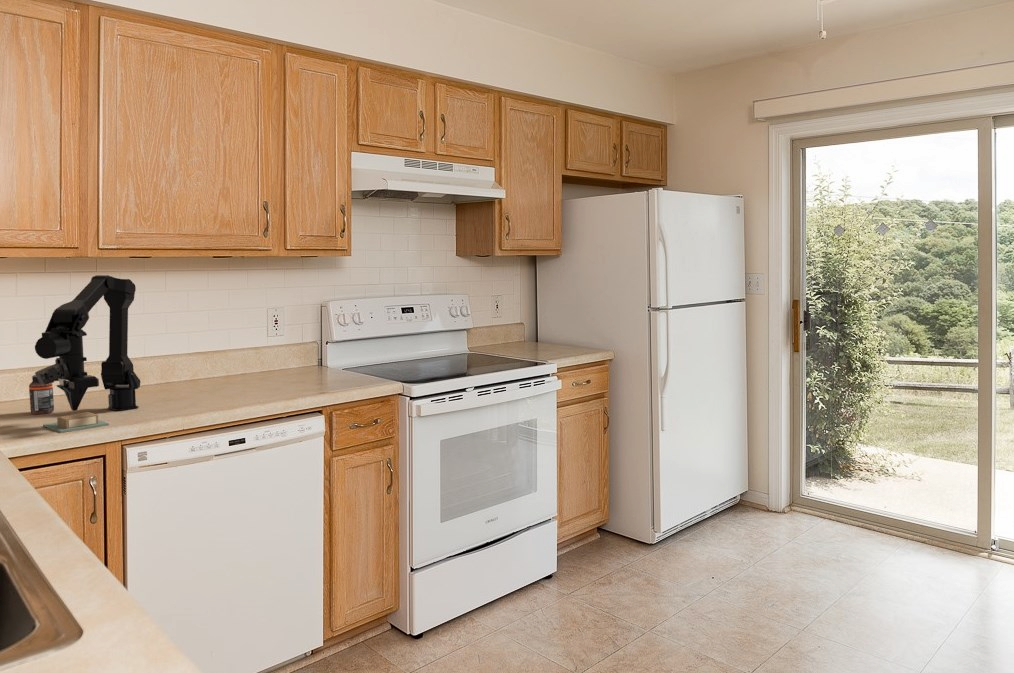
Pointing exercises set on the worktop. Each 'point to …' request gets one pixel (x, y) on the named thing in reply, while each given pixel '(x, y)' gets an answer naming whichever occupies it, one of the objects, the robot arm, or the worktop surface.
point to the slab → (77, 420)
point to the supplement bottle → (41, 397)
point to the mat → (61, 430)
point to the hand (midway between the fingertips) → (74, 410)
